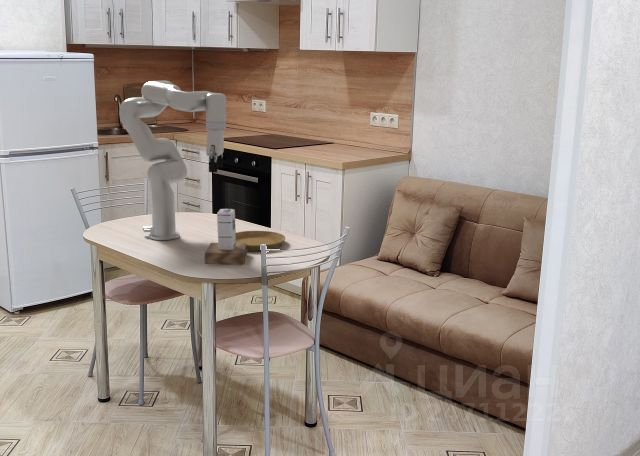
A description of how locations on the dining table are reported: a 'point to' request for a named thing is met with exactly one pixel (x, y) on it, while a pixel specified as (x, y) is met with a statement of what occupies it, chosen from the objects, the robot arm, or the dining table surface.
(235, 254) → the walnut block
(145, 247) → the dining table surface
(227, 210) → the syrup box
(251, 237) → the plant saucer
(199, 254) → the dining table surface
